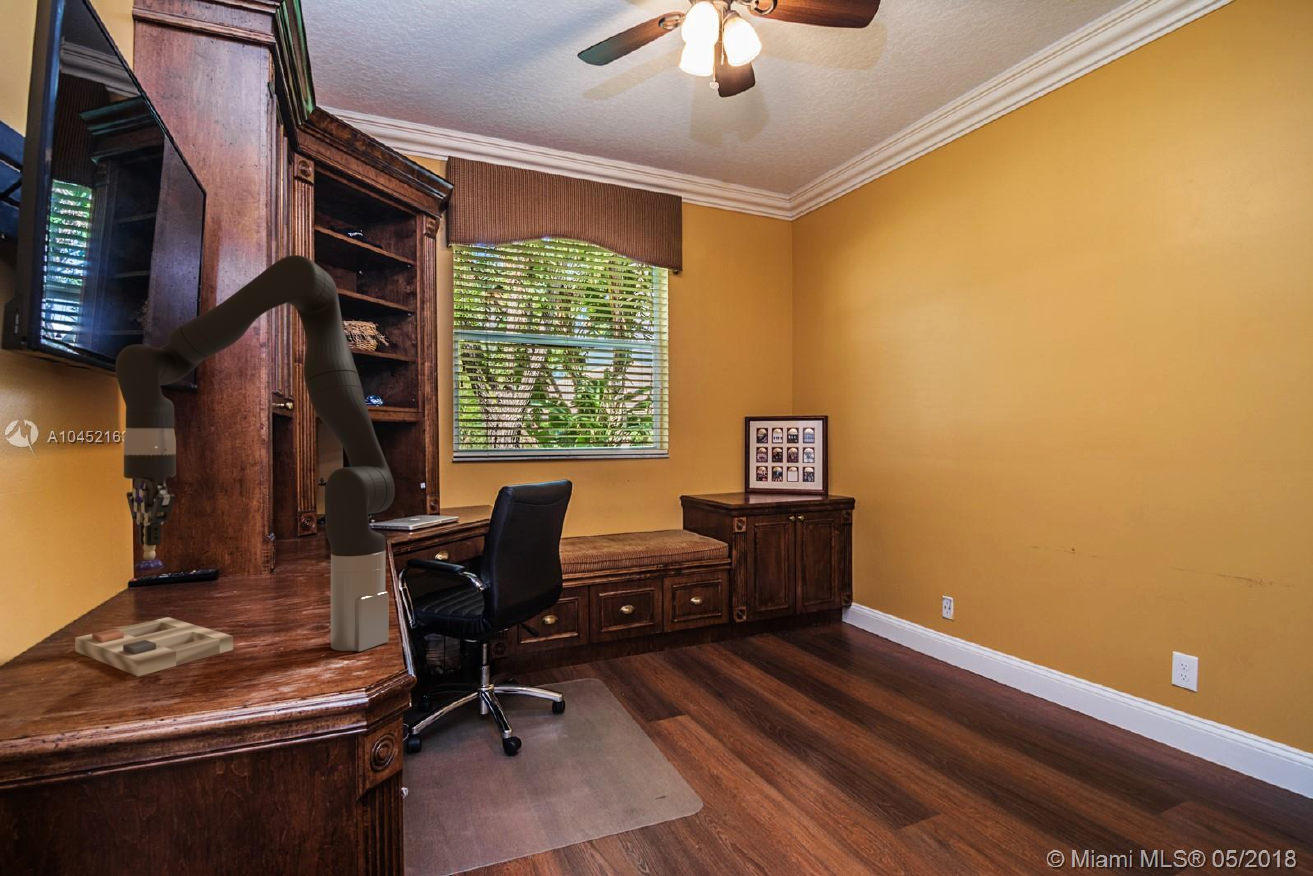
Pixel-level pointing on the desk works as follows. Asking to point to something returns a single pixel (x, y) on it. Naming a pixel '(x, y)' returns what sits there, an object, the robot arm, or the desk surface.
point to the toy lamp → (149, 554)
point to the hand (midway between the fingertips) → (150, 544)
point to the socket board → (153, 645)
